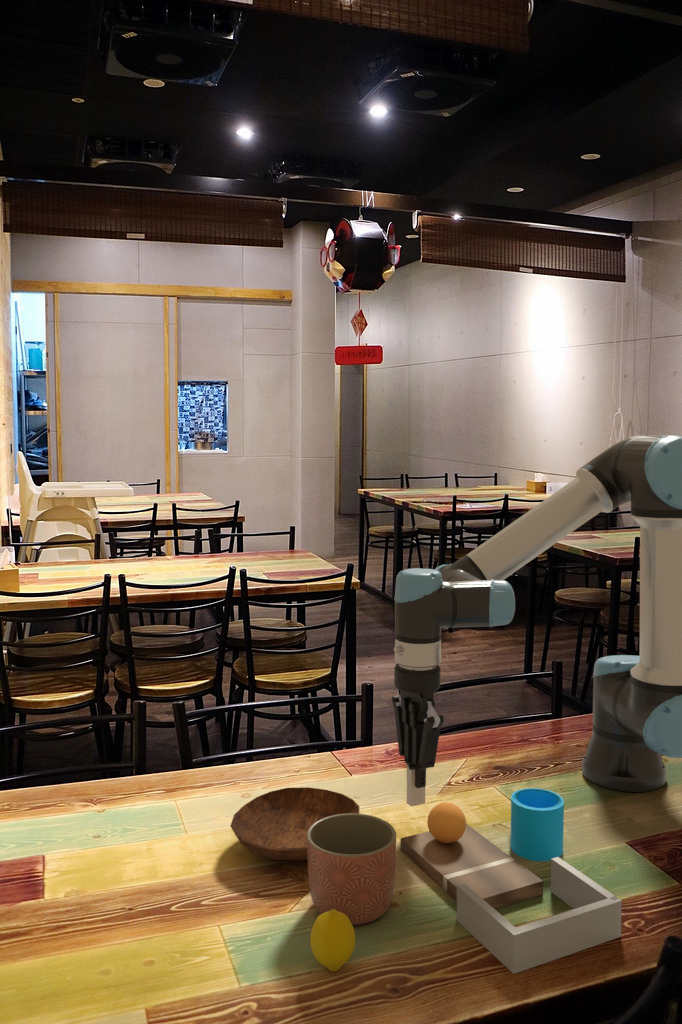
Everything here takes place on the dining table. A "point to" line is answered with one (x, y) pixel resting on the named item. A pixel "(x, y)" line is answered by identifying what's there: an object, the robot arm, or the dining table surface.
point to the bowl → (286, 820)
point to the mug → (537, 824)
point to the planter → (352, 865)
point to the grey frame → (545, 921)
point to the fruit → (332, 939)
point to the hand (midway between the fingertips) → (415, 803)
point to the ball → (446, 822)
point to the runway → (473, 867)
